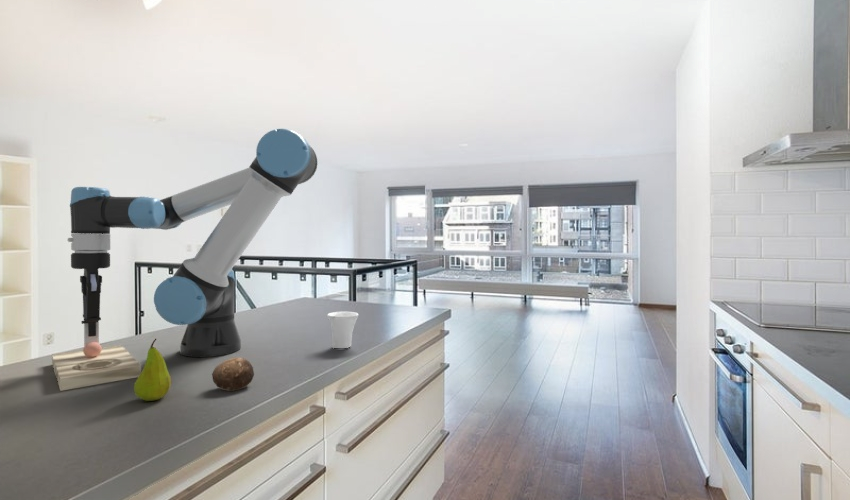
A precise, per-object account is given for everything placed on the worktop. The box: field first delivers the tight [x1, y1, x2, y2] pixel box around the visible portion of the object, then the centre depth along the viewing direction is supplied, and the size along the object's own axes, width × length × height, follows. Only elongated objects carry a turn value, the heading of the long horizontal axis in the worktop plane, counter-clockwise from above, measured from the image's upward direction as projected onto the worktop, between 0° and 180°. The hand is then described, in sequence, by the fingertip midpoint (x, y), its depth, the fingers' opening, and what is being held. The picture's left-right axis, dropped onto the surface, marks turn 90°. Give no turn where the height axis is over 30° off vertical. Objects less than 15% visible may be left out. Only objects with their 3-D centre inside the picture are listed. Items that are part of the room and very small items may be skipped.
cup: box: [326, 311, 359, 349], centre depth 126 cm, size 9×9×10 cm
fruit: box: [133, 338, 172, 402], centre depth 85 cm, size 6×6×12 cm
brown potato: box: [211, 357, 255, 392], centre depth 93 cm, size 8×8×6 cm
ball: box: [83, 342, 103, 357], centre depth 104 cm, size 4×4×4 cm
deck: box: [51, 344, 142, 392], centre depth 102 cm, size 24×14×2 cm, turn 44°
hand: (91, 348), depth 106 cm, fingers closed
